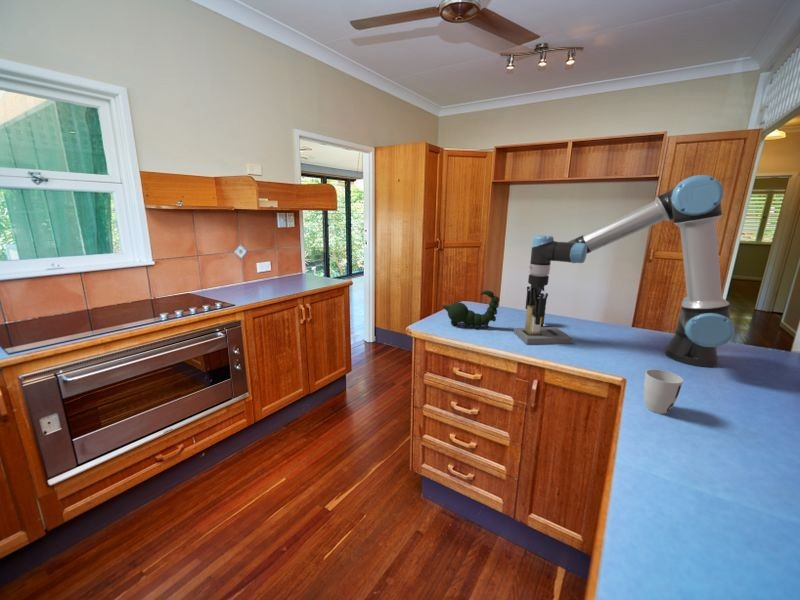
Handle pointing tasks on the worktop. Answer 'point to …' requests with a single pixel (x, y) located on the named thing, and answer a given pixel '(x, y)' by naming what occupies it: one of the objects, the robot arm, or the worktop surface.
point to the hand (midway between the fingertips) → (532, 329)
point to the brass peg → (531, 321)
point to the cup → (661, 390)
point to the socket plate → (544, 336)
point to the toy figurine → (472, 313)
